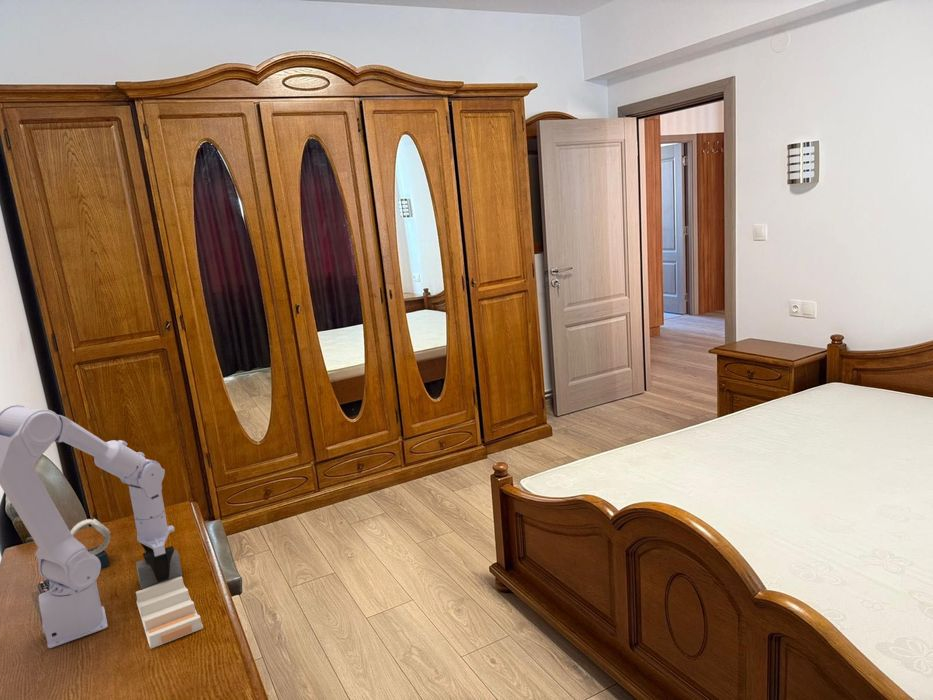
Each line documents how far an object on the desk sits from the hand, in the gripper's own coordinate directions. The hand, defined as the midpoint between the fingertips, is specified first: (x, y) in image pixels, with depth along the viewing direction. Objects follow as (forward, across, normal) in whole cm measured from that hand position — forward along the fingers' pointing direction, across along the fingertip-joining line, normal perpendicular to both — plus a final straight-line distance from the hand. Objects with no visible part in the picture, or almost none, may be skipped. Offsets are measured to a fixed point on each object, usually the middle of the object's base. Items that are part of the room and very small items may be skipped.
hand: (160, 572), depth 132 cm
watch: (+2, +16, +11) cm, 20 cm away
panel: (+2, 0, 0) cm, 2 cm away
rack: (+2, -15, +1) cm, 15 cm away
